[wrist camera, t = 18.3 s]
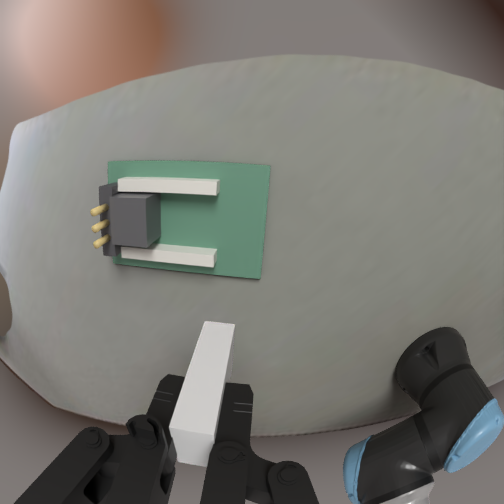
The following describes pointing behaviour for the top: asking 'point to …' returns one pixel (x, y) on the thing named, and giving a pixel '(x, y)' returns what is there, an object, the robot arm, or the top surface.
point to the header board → (193, 215)
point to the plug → (135, 218)
